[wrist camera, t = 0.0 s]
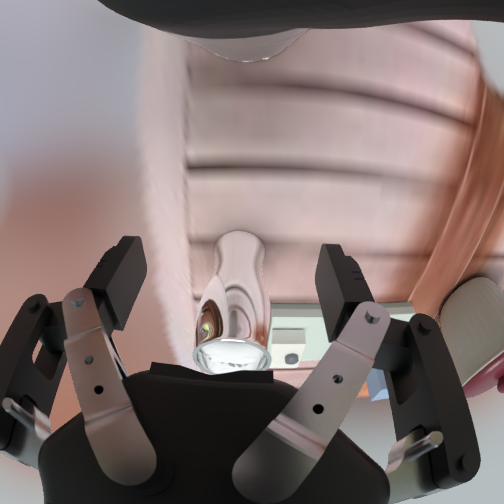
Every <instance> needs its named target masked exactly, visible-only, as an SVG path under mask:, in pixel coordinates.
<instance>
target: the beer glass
mask: <svg viewBox="0 0 504 504" xmlns="http://www.w3.org/2000/svg"><path fill="white" fill-rule="evenodd" d="M264 256H265V249H264V246H263V244H262V242H261V241H260V239H259V238H258V237H256V236H255V235H253V234H251V233H249V232H245V231H232V232H229V233H226V234H225V235H223V236H222V237H220V238H219V240H218V241H217V242H216V244H215V248H214V259H215V267H214V271H213V273H212V275H211V278H210V280H209V282H208V284H207V286H206V289H205V291H204V293H203V296H202V299H201V302H200V305H199V309H198V313H197V318H196V325H195V335H194V350H193V360H194V362H195V363H196V365H197V366H198V367H200V368H201V369H202V370H204V371H206V372H208V373H210V374H213V375H215V374H222V373H228V372H234V371H239V370H263V371H266V370H267V369H268V368H269V367H270V365H271V362H272V358H271V355H272V338H273V321H272V310H271V305H270V300H269V296H268V292H267V289H266V285H265V282H264V279H263V275H262V263H263V260H264Z"/></svg>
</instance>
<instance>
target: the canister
mask: <svg viewBox="0 0 504 504" xmlns="http://www.w3.org/2000/svg"><path fill="white" fill-rule="evenodd" d="M440 324H441V329H442V333H443V336H444V340H445V342H446V345H447V347H448V349H449V352H450V354H451V357H452V360H453V362H454V365H455V368H456V370H457V373H458V376H459V379H460V382H461V384H462V387H463V391H464V394H465V397H466V398H469V397H474V396H476V395H479V394H481V393H483V392H485V391H487V390H489V389H491V388H492V387H494V386H496V385H497V389H498V391H499V392H500V393H504V292H503V291H502V290H501V289H500V288H499V287H498V286H497V285H496V284H495V283H494V282H493V281H492V280H490V279H488V278H486V277H476V278H473V279H472V280H469V281H468V282H465V283H464V284H462V285H461V286H460V287H458V289H457V290H455V291H454V293H452V294H451V296H450V297H449V298H448V300H447V301H446V302H445V304H444V306H443V308H442V311H441V314H440Z"/></svg>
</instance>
